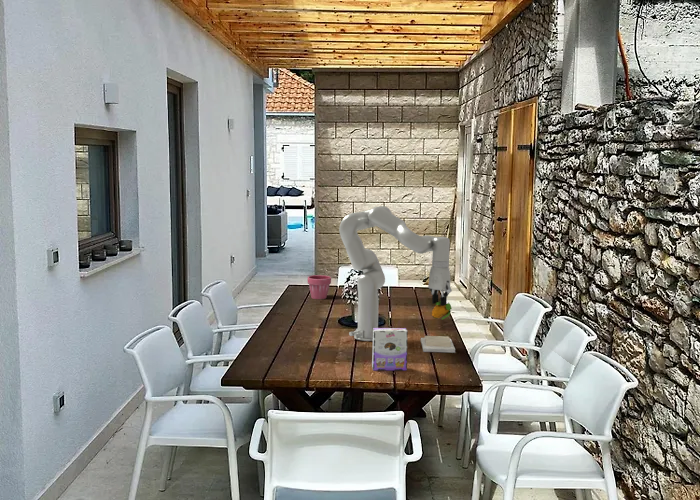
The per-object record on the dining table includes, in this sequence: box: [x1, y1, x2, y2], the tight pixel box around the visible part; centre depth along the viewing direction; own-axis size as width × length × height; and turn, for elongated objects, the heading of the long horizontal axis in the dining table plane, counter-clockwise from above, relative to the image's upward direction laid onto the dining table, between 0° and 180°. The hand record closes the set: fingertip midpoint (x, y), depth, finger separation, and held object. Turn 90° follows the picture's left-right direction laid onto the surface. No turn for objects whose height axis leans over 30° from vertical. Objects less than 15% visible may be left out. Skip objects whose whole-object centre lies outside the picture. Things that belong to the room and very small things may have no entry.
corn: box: [431, 300, 452, 321], centre depth 342 cm, size 7×8×20 cm
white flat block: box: [420, 335, 456, 354], centre depth 344 cm, size 20×14×4 cm
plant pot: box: [307, 274, 332, 300], centre depth 456 cm, size 14×14×13 cm
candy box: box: [371, 327, 409, 371], centre depth 305 cm, size 14×6×16 cm, turn 92°
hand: (439, 303), depth 342 cm, fingers closed on corn, 4 cm apart
